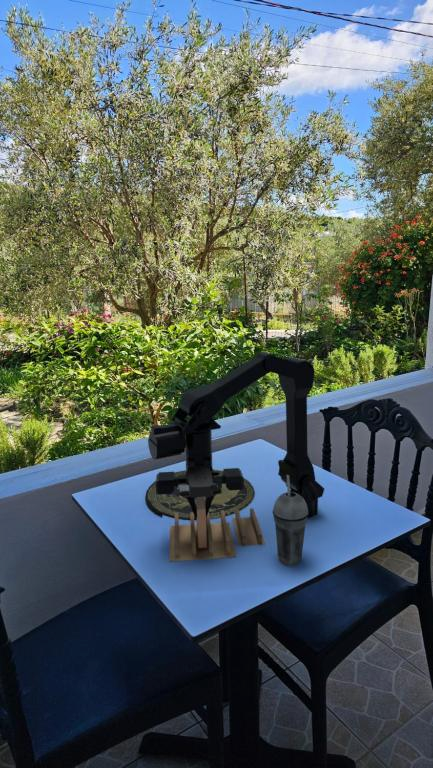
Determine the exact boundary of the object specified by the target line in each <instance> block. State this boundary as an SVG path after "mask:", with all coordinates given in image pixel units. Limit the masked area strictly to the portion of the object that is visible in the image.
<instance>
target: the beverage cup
mask: <svg viewBox="0 0 433 768" xmlns="http://www.w3.org/2000/svg"><path fill="white" fill-rule="evenodd" d="M286 488H287V489H286V490H287V491H286V492H284V493H282V494H280V495H279V496H278V497H277V498H276V499H275V502H274V505H273V509H272V514H273V521H274V524H275V536H276V537H275V538H276V548H277V556H278V557H277V558H278V561H279V562H280V564H282V565H285V566H288V567H294V566H297V565H299V564H301V561H302V557H303V549H304V540H305V531H306V525H307V522H308V519H309V518H308V515H309V512H308V507H307V504H306V502H305V500H304V499H303V498H302V497H301V496H300V495H299V494H297V493H294V492H290V490H291V489H290V481H289V475H287V486H286Z"/></svg>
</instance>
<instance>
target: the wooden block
mask: <svg viewBox="0 0 433 768" xmlns="http://www.w3.org/2000/svg"><path fill="white" fill-rule="evenodd" d="M196 509H197V518H196V524H197V536H198V548H207V538H206V509H205V500H204V497H197V498H196Z"/></svg>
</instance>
